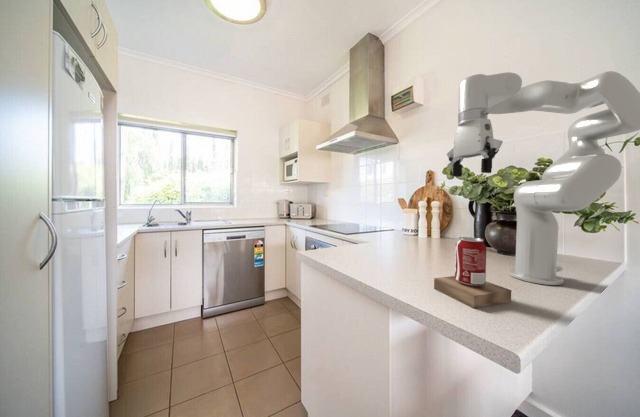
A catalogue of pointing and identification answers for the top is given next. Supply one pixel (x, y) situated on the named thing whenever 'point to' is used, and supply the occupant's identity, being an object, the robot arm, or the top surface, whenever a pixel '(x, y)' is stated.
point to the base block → (473, 292)
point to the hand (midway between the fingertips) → (470, 174)
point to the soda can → (470, 261)
